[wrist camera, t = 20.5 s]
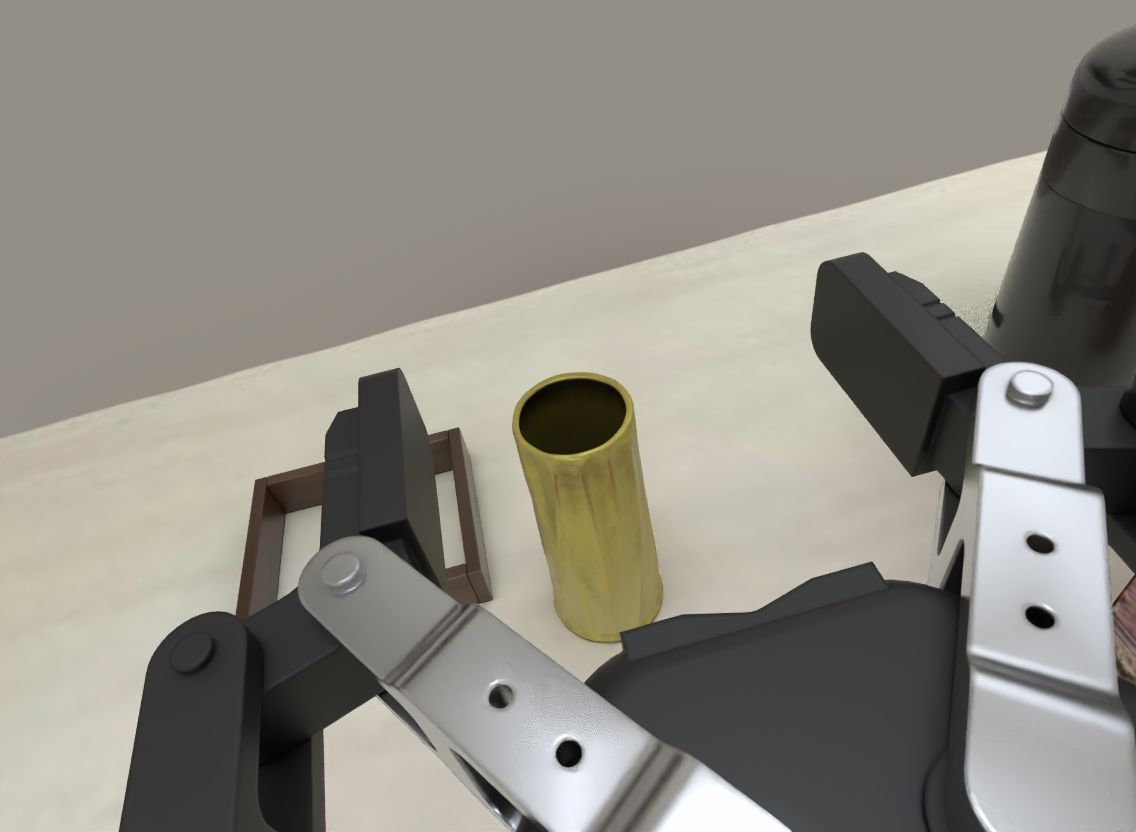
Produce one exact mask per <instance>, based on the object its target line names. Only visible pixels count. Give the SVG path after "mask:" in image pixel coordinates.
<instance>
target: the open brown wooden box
mask: <svg viewBox="0 0 1136 832" xmlns="http://www.w3.org/2000/svg"><path fill="white" fill-rule="evenodd" d="M428 437H429V441H430V444H431V449H432V454H433V461H434V471H435V474H437V473H441V472H445V471H448V470H452V469H453V473H454V481H455V488H456V496H457V503H458V510H459V518H460V525H461V533H462V540H463V547H464V555H465V562H466V565H465V564H462V565H458V566H455V567H451V568H447V569H445V572H446V581H447V591H448V595H449V596H450V597H451V598H453V599H454V600H455V601H457V602H458V603H460V604H461V605H464V606H466V605H467V604H468V603H469V602H473V603H476V604H478V603H479V602H480V603H482V602H485V601H489V600H492V599H493V596H492V590H491V584H490V578H489V571H488V565H487V559H486V553H485V547H484V541H483V534H482V528H481V522H480V516H479V510H478V504H477V497H476V491H475V485H474V479H473V473H472V467H471V460H470V456H469V453H468V450H467V447H466V445H465V442H464V439H463V436H462V434H461V431H460V428H454V429H450V430H448V431H447V430H446V431H442V432H438V433H434V434H431V435H428ZM323 480H325V478H324V462H322V463H319V464H315V465H311V466H307V467H303V468H299V469H295V470H292V471H288V472H284V473H280V474H276V475H272V476H268V477H264V478H261V479H257V480H255V485H254V492H253V499H252V506H251V513H250V520H249V526H248V533H247V540H246V547H245V554H244V561H243V567H242V574H241V581H240V588H239V595H238V602H237V609H236V615H235V616H236V617H238V618H239V619H240V620H241V621H243V620H245V619H246V618H248V617H250V616H252V615H253V614H255V613H257V612H259V611H260V610H262V609H264V608H266V607H268V606H269V605H271V604H273V603H275V602H276V600H277V590H278V580H279V570H280V560H281V550H282V540H283V530H284V520H285V513H288V512H292V511H296V510H300V509H303V508H307V507H311V506H315V505H319V504H322V496H323Z"/></svg>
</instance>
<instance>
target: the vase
mask: <svg viewBox="0 0 1136 832" xmlns="http://www.w3.org/2000/svg"><path fill="white" fill-rule="evenodd" d="M512 429H513V435H514V438H515V441H516V445H517V449H518V453H519V457H520V461H521V464H522V468H523V471H524V475H525V479H526V482H527V485H528V488H529V491H530V494H531V498H532V501H533V507H534V512H535V516H536V521H537V525H538V529H539V533H540V537H541V541H542V546H543V550H544V553H545V556H546V559H547V563H548V566H549V570H550V575H551V579H552V584H553V588H554V604H555V608H556V611H557V613H558V615H559V617H560V619H561V620H562V622H563V623H564V624H565V626H567V627H568V628H569V629H570V630H571V631H573V632H574V633H576V634H577V635H579V636H581V637H583V638H586V639H589V640H593V641H601V642H614V641H620V640H621V638H620V632H622V631H626V630H629V629H633V628H637V627H640V626H644V625H647V624H650V623H651V621H652V620H653V619H654V617H655V616H656V614H657V613H658V611H659V608H660V605H661V601H662V593H663V585H662V580H661V577H660V575H659V572H658V561H657V553H656V547H655V541H654V536H653V531H652V525H651V520H650V515H649V509H648V503H647V498H646V493H645V487H644V480H643V474H642V467H641V460H640V454H639V447H638V440H637V430H636V422H635V414H634V405H633V401H632V399H631V397H630V395H629V393H628V392H627V390H626V389H625V388H624V387H623V386H622V385H621V384H620V383H618V382H617V381H616V380H614V379H612V378H609V377H606V376H603V375H599V374H594V373H586V372H577V373H565V374H560V375H556V376H553V377H550V378H548V379H545V380H543V381H542V382H540V383H538V384H537V385H535V386H534V387H533V388H531V389H530V390H529V391H527V392H526V393H525V394H524V395H523V396H522V398H521V399H520V400H519V402H518V403H517V405H516V408H515V411H514V416H513V423H512Z"/></svg>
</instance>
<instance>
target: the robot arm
mask: <svg viewBox="0 0 1136 832" xmlns="http://www.w3.org/2000/svg"><path fill="white" fill-rule="evenodd" d="M996 294H997V293H996ZM995 297H996V296H995ZM994 300H995V299H994ZM993 303H994V302H993ZM992 306H993V305H992ZM991 309H992V308H991ZM990 313H991V311H990ZM989 316H990V315H989ZM988 319H989V318H988ZM987 322H988V324H986V325H987V327H985V328H986V330H984V331H985V333H984V336H983V338H982V337H981V336H979V335H978V334H977V333H976V332H975V331H974V330H973V329H972V328H971V327H970V326H968V325H967V324H966V323H965V322H964V321H963V320H962V319H961V318H960V317H959V316H958V317H955V313H954V312H953V311H952V310H951V309H950V308H949V307H948V306H946V305H945V304H944V303H940V299H939V298H938V297H936V296H935V295H934V294H933V293H932V292H931V291H930V290H929V289H928V288H927V287H925V286H924V285H923V284H922V283H920V282H918V281H916V280H914V279H911V278H909V277H907V276H905V275H903V274H900V273H898V272H896V271H894V272H891V273H887V272H886V271H885V270H884V269H883V268H882V267H881V266H880V265H879V264H878V263H877V262H876V261H875V260H874V259H873V258H872V257H870V256H869V255H868V254H866V253H864V252H861V253H856V254H852V255H848V256H845V257H841V258H837V259H833V260H829V261H825V262H823V263H822V264H821V265H820V267H819V269H818V273H817V280H816V288H815V296H814V304H813V312H812V320H811V339H812V344H813V347H814V350H815V352H816V354H817V356H818V358H819V359H820V361H821V362H822V363H823V364H824V366H825V367H826V368H827V369H828V371H829V372H830V373H831V375H832V376H833V377H834V378H835V380H836V381H837V382H838V384H839V385H840V386H841V387H842V389H843V390H844V391H845V392H846V394H847V395H848V396H849V398H850V399H851V400H852V401H853V403H854V404H855V405H856V406H857V408H858V409H859V410H860V412H861V413H862V414H863V415H864V417H865V418H866V419H867V420H868V422H869V423H870V424H871V426H872V427H873V428H874V429H875V431H876V432H877V433H878V434H879V436H880V437H881V438H882V440H883V441H884V442H885V443H886V445H887V446H888V447H889V448H890V450H891V451H892V452H893V454H894V455H895V456H896V457H897V459H898V460H899V461H900V463H901V464H902V465H903V466H904V468H905V469H906V470H907V471H908V473H909V474H910V475H911V477H914V476H917V475H921V474H925V473H928V472H932V471H936V470H937V471H938V472H939V473H940V474H941V475H942V477H943V478H944V479H943V482H942V485H941V488H940V493H939V502H938V510H937V518H936V526H935V535H934V543H933V551H932V559H931V567H930V573H929V578H928V582H927V585H926V584H921V583H915V582H910V581H900V580H884V579H883V577H882V576H881V574H880V573H879V571H878V570H877V568H876V566H875V565H874V563H873V562H869V563H865V564H861V565H858V566H854V567H851V568H847V569H844V570H840V571H836V572H833V573H829V574H826V575H822V576H819V577H815V578H811V579H810V580H808V581H806V582H805V583H803V584H801V585H800V586H798V587H796V588H794V589H793V590H791V591H789V592H788V593H786V594H784V595H783V596H781V597H779V598H778V599H776V600H774V601H773V602H771V603H769V604H768V605H766V606H764V607H762V608H761V609H759V610H757V611H753V612H744V613H715V614H685V615H679V616H676V617H672V618H669V619H665V620H662V621H658V622H654V623H651V624H647V625H644V626H640V627H637V628H633V629H629V630H626V631H622V632H620V638H621V643H622V648H623V651H622V652H621V653H619V654H617V655H616V656H614V657H612V658H611V659H609V660H608V661H607V662H606V663H604V664H603V665H602V666H600V667H599V668H598V669H597V670H596V671H595V672H594V673H593V674H592V675H591V676H590V677H589V678H588V679H587V680H586V682H585V683H583V682H581V681H580V680H579V679H577V678H576V677H575V676H573V675H572V674H571V673H569V672H568V671H567V670H565V669H564V668H563V667H561V666H560V665H559V664H557V663H556V662H555V661H553V660H552V659H551V658H549V657H548V656H547V655H545V654H544V653H543V652H542V651H540V650H539V649H538V648H536V647H535V646H534V645H532V644H531V643H530V642H528V641H527V640H526V639H524V638H523V637H522V636H520V635H519V634H518V633H516V632H515V631H514V630H512V629H511V628H510V627H508V626H507V625H506V624H504V623H503V622H502V621H501V620H499V619H498V618H497V617H495V616H494V615H493V614H491V613H490V612H489V611H487V610H486V609H484V608H483V607H481V606H480V605H478V604H476V603H473V602H469V603H468V604H467V605H466V606H464V605H461V604H460V603H458V602H457V601H455V600H454V599H453V598H451V597H450V596H449V595H448V591H447V581H446V572H445V563H444V554H443V544H442V535H441V526H440V517H439V507H438V498H437V489H436V480H435V471H434V461H433V454H432V449H431V444H430V441H429V437H428V434H427V431H426V428H425V425H424V423H423V420H422V418H421V415H420V413H419V410H418V408H417V405H416V403H415V401H414V398H413V396H412V393H411V391H410V388H409V386H408V383H407V381H406V379H405V376H404V374H403V372H402V370H401V369H400V368H396V369H392V370H388V371H384V372H380V373H376V374H372V375H368V376H365V377H361V378H359V382H358V407H356V408H352V409H348V410H344V411H340V412H338V413H337V415H336V417H335V418H334V420H333V422H332V424H331V426H330V428H329V429H328V431H327V433H326V436H325V456H324V457H325V462H324V478H325V480H323V496H322V516H321V535H320V549H319V552H317V553H316V554H315V555H314V556H313V557H312V558H311V560H310V561H309V562H308V563H307V565H306V566H305V568H304V570H303V571H302V574H301V576H300V579H299V583H298V586H297V587H296V588H295V589H294V590H293V591H292V592H290V593H289V594H288V595H286V596H285V597H283V598H281V599H280V600H278V601H276V602H275V603H273V604H271V605H269V606H268V607H266V608H264V609H262V610H260V611H259V612H257V613H255V614H253V615H252V616H250V617H248V618H246V619H245V620H243V621H241V620H240V619H239V618H238V617H236V616H234V615H233V614H230V613H227V612H219V611H216V612H208V613H204V614H201V615H198V616H196V617H193V618H191V619H189V620H188V621H186V622H184V623H183V624H181V625H180V626H178V627H177V628H176V629H174V630H173V631H172V632H171V633H170V634H169V635H168V636H167V637H166V638H165V639H164V640H163V641H162V642H161V644H160V645H159V646H158V647H157V649H156V651H155V652H154V654H153V656H152V658H151V660H150V662H149V665H148V668H147V672H146V677H145V683H144V689H143V695H142V700H141V706H140V712H139V718H138V724H137V729H136V735H135V741H134V747H133V752H132V758H131V764H130V770H129V775H128V781H127V787H126V793H125V799H124V804H123V810H122V816H121V822H120V827H119V832H326V823H325V782H324V741H323V729H324V728H326V727H327V726H329V725H331V724H332V723H334V722H335V721H337V720H338V719H340V718H342V717H343V716H345V715H346V714H348V713H349V712H351V711H353V710H354V709H356V708H357V707H359V706H360V705H362V704H364V703H365V702H367V701H368V700H370V699H371V698H373V697H375V696H376V697H377V698H378V699H379V700H380V701H381V702H382V703H383V704H384V705H385V706H386V707H387V708H388V709H389V710H390V711H391V712H392V713H393V714H394V715H395V716H396V717H397V718H398V719H399V720H400V721H401V722H402V723H403V724H404V725H405V726H406V727H408V728H409V729H410V730H411V731H412V732H413V733H414V734H415V735H416V736H417V737H418V738H419V739H420V740H421V741H422V742H423V743H424V744H425V745H426V746H427V747H428V748H429V749H430V750H431V751H432V752H433V753H434V754H435V755H436V756H437V757H438V758H439V759H440V760H441V761H442V762H443V763H444V764H445V765H446V766H447V767H448V768H449V769H450V770H451V771H452V772H453V773H454V775H455V776H456V777H457V778H458V779H459V780H460V781H461V782H462V784H463V785H464V786H465V787H466V788H467V789H468V790H469V791H470V792H471V793H472V794H473V795H474V796H475V797H476V798H477V799H478V800H479V801H480V802H481V803H482V804H483V805H484V806H485V807H486V808H487V809H488V810H489V811H490V812H491V813H492V814H493V815H494V816H495V817H496V818H497V819H498V820H499V821H500V822H501V823H502V824H503V825H504V826H505V827H506V828H507V829H509V830H510V831H511V832H1136V685H1135V684H1133V683H1131V682H1129V681H1127V680H1125V679H1123V678H1121V677H1119V676H1117V667H1116V653H1115V638H1114V624H1113V610H1112V596H1111V582H1110V568H1109V554H1108V544H1109V545H1110V546H1111V547H1112V549H1113V550H1114V551H1115V552H1116V553H1117V554H1118V555H1119V557H1120V558H1121V559H1122V560H1123V561H1124V562H1125V563H1126V564H1127V566H1128V567H1129V568H1130V569H1131V570H1132V571H1133V572H1134V573H1135V575H1136V24H1135V25H1133V26H1130V27H1128V28H1126V29H1123V30H1121V31H1119V32H1116V33H1114V34H1112V35H1110V36H1109V37H1107V38H1105V39H1103V40H1102V41H1100V42H1099V43H1097V44H1096V45H1095V46H1094V47H1092V48H1091V49H1090V50H1089V51H1088V52H1087V53H1086V55H1085V56H1084V57H1083V59H1082V60H1081V62H1080V63H1079V65H1078V67H1077V69H1076V71H1075V74H1074V76H1073V79H1072V82H1071V84H1070V87H1069V90H1068V93H1067V96H1066V99H1065V102H1064V105H1063V108H1062V111H1061V114H1060V117H1059V120H1058V122H1057V125H1056V128H1055V131H1054V134H1053V137H1052V140H1051V143H1050V145H1049V148H1048V151H1047V154H1046V157H1045V160H1044V163H1043V166H1042V169H1041V172H1040V175H1039V178H1038V181H1037V184H1036V187H1035V190H1034V193H1033V195H1032V198H1031V201H1030V204H1029V207H1028V210H1027V213H1026V216H1025V218H1024V221H1023V224H1022V227H1021V230H1020V233H1019V236H1018V239H1017V241H1016V244H1015V247H1014V250H1013V253H1012V256H1011V259H1010V262H1009V264H1008V267H1007V270H1006V273H1005V276H1004V279H1003V282H1002V285H1001V287H1000V290H999V293H998V296H997V299H996V302H995V305H994V308H993V310H992V313H991V316H990V319H989V321H987Z"/></svg>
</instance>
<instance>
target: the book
mask: <svg viewBox="0 0 1136 832" xmlns="http://www.w3.org/2000/svg"><path fill="white" fill-rule="evenodd" d="M1112 610H1113V624H1114V638H1115V653H1116V667H1117V676H1119V677H1121V678H1123V679H1125V680H1127V681H1129V682H1131V683H1133V684H1135V685H1136V575H1134V576H1133V578H1132V579H1131V580H1130V582H1129V583H1128V584H1127V586H1126V587H1125V588H1124V590H1123V591H1122V592H1121V594H1120V595H1119V596H1118V598H1117V599H1116V600H1115V602H1114V603H1113V604H1112Z"/></svg>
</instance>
